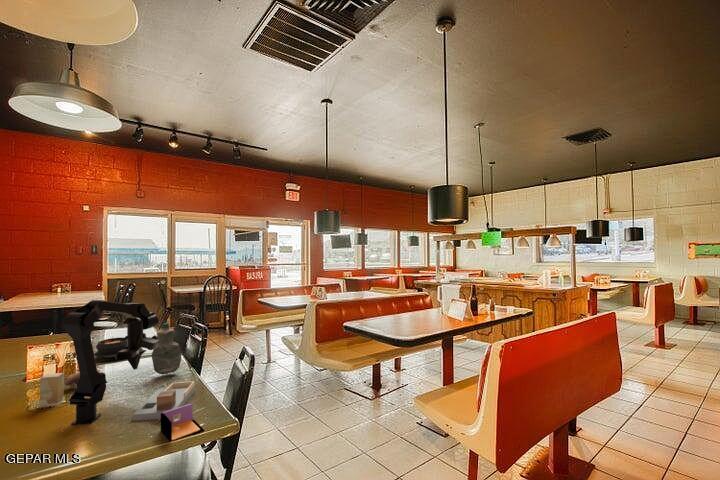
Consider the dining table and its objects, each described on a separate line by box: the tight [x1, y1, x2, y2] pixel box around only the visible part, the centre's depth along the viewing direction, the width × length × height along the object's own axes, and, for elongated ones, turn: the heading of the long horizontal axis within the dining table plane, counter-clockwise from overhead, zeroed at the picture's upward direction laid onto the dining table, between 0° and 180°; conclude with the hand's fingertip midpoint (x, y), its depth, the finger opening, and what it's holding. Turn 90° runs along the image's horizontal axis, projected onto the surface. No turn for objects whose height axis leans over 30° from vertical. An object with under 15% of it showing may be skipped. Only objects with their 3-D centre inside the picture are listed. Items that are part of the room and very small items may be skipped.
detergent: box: [151, 322, 182, 375], centre depth 172 cm, size 13×7×25 cm, turn 124°
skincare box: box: [38, 372, 65, 408], centre depth 138 cm, size 6×4×12 cm
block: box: [157, 390, 176, 410], centre depth 130 cm, size 5×5×5 cm
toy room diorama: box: [160, 403, 205, 442], centre depth 117 cm, size 12×12×7 cm
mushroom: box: [64, 372, 80, 390], centre depth 155 cm, size 8×8×6 cm
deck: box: [131, 380, 196, 421], centre depth 137 cm, size 24×14×4 cm, turn 9°
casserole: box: [94, 337, 127, 359], centre depth 204 cm, size 25×19×8 cm
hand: (135, 369), depth 146 cm, fingers closed
